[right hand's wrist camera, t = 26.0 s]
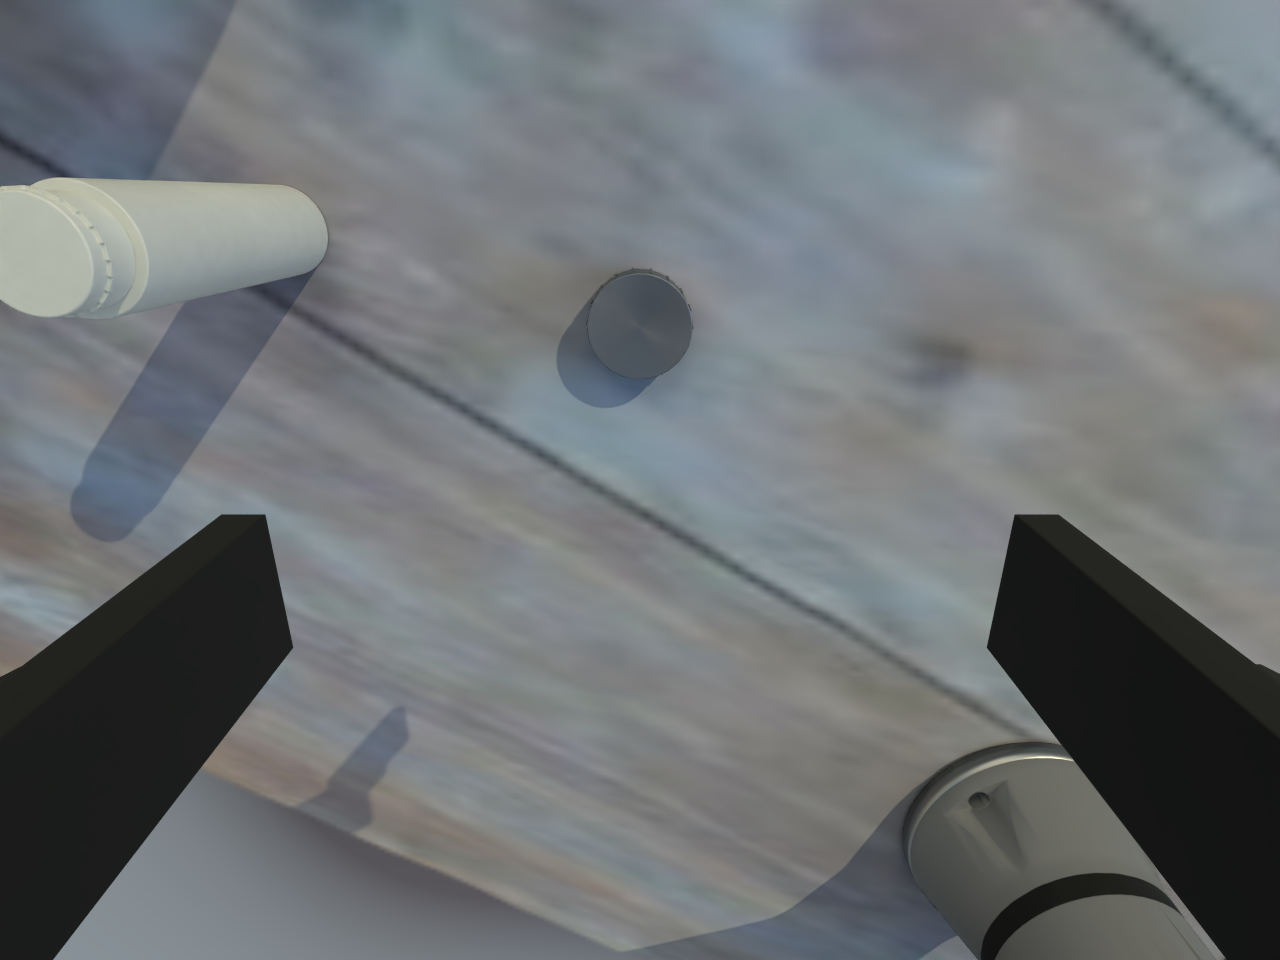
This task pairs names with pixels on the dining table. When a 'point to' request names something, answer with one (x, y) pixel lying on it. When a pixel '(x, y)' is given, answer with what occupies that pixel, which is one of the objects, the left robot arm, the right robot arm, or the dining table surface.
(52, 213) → the off-white long cylinder
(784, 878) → the dining table surface
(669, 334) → the lid
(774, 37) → the dining table surface
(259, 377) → the dining table surface
